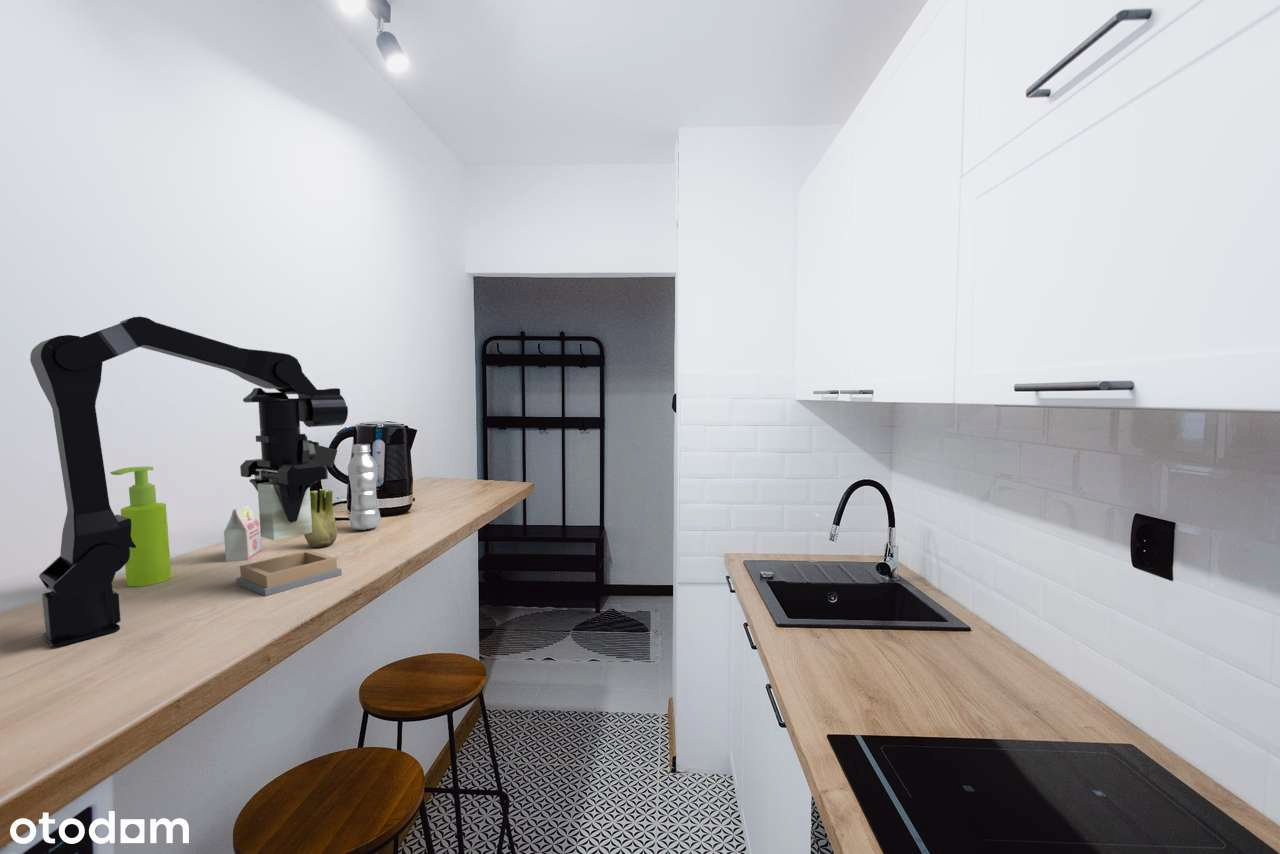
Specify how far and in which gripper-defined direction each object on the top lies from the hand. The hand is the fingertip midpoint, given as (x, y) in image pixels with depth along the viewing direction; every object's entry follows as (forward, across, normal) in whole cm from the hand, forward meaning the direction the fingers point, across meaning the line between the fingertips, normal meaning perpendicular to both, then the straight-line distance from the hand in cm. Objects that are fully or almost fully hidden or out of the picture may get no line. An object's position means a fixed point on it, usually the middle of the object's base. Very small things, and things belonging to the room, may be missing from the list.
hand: (285, 520), depth 97 cm
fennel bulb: (+11, +18, -14) cm, 25 cm away
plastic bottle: (+10, +24, -27) cm, 38 cm away
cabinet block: (+2, 0, 0) cm, 2 cm away
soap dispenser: (+11, +21, +14) cm, 27 cm away
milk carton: (+11, +24, -2) cm, 26 cm away
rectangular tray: (+10, 0, 0) cm, 10 cm away
